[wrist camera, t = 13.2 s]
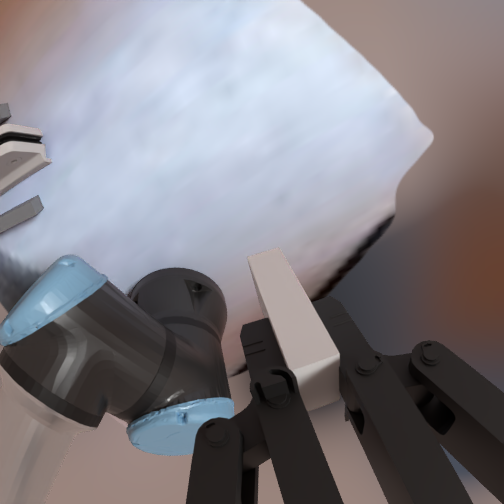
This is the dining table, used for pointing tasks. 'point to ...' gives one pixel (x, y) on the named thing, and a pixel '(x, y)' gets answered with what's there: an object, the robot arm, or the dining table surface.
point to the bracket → (24, 209)
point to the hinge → (20, 154)
